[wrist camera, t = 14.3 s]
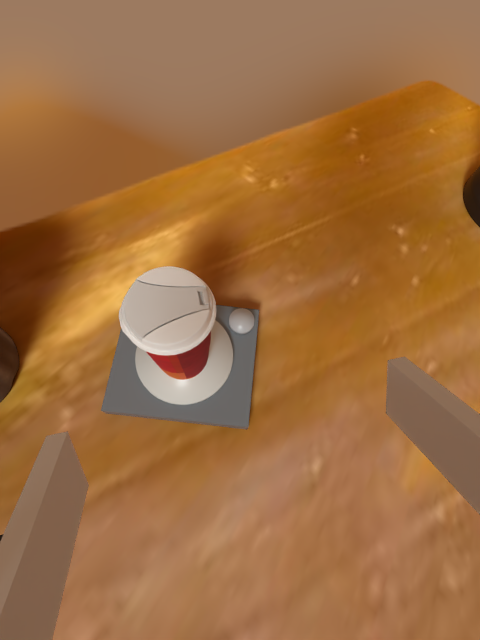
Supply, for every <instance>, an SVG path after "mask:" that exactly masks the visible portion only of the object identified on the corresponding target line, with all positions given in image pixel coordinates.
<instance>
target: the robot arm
mask: <svg viewBox="0 0 480 640" xmlns="http://www.w3.org/2000/svg"><path fill="white" fill-rule="evenodd" d="M464 202H465V205H466V208H467V210H468V212H469V214H470V215H471V217H472V218H473V220H474V221H475V222H476V223H477V224H478V225H479V226H480V167H478V168H477V170H476V171H475V172H474V173H473V174H472V176H471V177H470V178H469V179H468V181H467V182H466V184H465V187H464ZM386 414H387V415H388V416H389V417H390V418H391V419H392V420H393V421H394V422H395V423H396V425H397V426H398V427H399V428H400V429H401V430H402V431H403V432H404V433H405V434H406V435H407V436H408V438H409V439H410V440H411V441H412V442H413V443H414V444H415V445H416V446H417V447H418V448H419V449H420V451H421V452H422V453H423V454H424V455H425V456H426V457H427V458H428V459H429V460H430V461H431V462H432V464H433V465H434V466H435V467H436V468H437V469H438V470H439V471H440V472H441V473H442V474H443V475H444V477H445V478H446V479H447V480H448V481H449V482H450V483H451V484H452V485H453V486H454V487H455V488H456V490H457V491H458V492H459V493H460V494H461V495H462V496H463V497H464V498H465V499H466V500H467V501H468V503H469V504H470V505H471V506H472V507H473V508H474V509H475V510H476V511H477V512H478V513H479V514H480V414H479V413H477V412H476V411H475V410H473V409H472V408H471V407H469V406H468V405H467V404H466V403H464V402H463V401H462V400H460V399H459V398H458V397H456V396H455V395H454V394H453V393H451V392H450V391H449V390H447V389H446V388H445V387H443V386H442V385H441V384H439V383H438V382H437V381H436V380H434V379H433V378H432V377H430V376H429V375H428V374H426V373H425V372H424V371H423V370H421V369H420V368H419V367H417V366H416V365H415V364H413V363H412V362H411V361H409V360H408V359H407V358H406V357H401V358H396V359H392V360H388V370H387V398H386ZM88 486H89V485H88V482H87V480H86V477H85V474H84V472H83V469H82V467H81V464H80V462H79V459H78V457H77V454H76V452H75V449H74V447H73V444H72V441H71V439H70V436H69V434H68V431H67V432H63V433H58V434H54V435H49V436H46V438H45V441H44V443H43V445H42V447H41V450H40V452H39V454H38V457H37V459H36V461H35V463H34V466H33V468H32V470H31V473H30V475H29V477H28V479H27V482H26V484H25V486H24V489H23V491H22V493H21V495H20V498H19V500H18V502H17V505H16V507H15V509H14V511H13V514H12V516H11V518H10V521H9V523H8V525H7V527H6V530H5V532H4V534H3V535H0V640H52V638H53V634H54V630H55V626H56V621H57V617H58V613H59V609H60V604H61V600H62V596H63V592H64V587H65V583H66V579H67V575H68V570H69V566H70V562H71V558H72V553H73V549H74V545H75V541H76V536H77V532H78V528H79V524H80V519H81V515H82V511H83V507H84V502H85V498H86V494H87V490H88Z"/></svg>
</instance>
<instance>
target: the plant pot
mask: <svg viewBox="0 0 480 640" xmlns="http://www.w3.org/2000/svg"><path fill="white" fill-rule="evenodd" d="M18 368H19V356H18V351H17V348H16V346H15V344H14V341H13V340H12V339H11V337H10V336H9V335H8V334H7V333H6V332H5V331H4V330H3V329H2V328H0V402H1V401H2V400H3V399H4V397H5V396H6V395H7V394H8V392H9V391H10V389H11V387H12V382H13V379H14V377H15V374H16V372H17V371H18Z"/></svg>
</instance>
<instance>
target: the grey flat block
mask: <svg viewBox="0 0 480 640" xmlns="http://www.w3.org/2000/svg"><path fill="white" fill-rule="evenodd" d="M258 318H259V310H256V309H247V308H238V307H230V306H221V305H216V318H215V322H214V325H213V327H212V329H211V341H210V347H209V355H208V360H207V363H206V366H205V367H204V369H203V370H202V371H201V372H200V373H199V374H198V375H196V376H195V377H193V378H190V379H185V380H179V379H175V378H172V377H170V376H168V375H167V374H166V373H165V372H164V371H163V370H162V369H161V368H160V367H159V366H158V365H157V364H156V363H155V362H154V360H153V359H152V358H151V357H150V356H149V355H148V354H147V352H146V351H144V350H142V349H141V348H139V347H138V346H136V345H135V344H134V343H133V342H132V341H131V340H130V339H129V337H128V336H127V335H126V334H125V333H124V332H123V331H122V328H121V332H120V336H119V340H118V344H117V348H116V352H115V356H114V360H113V364H112V368H111V372H110V376H109V380H108V384H107V388H106V393H105V397H104V401H103V405H102V409H101V411H103V412H105V413H108V414H117V415H126V416H135V417H143V418H152V419H161V420H170V421H178V422H187V423H196V424H205V425H213V426H222V427H231V428H240V429H248V425H249V415H250V404H251V393H252V382H253V371H254V361H255V350H256V339H257V328H258Z"/></svg>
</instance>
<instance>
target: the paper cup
mask: <svg viewBox="0 0 480 640" xmlns="http://www.w3.org/2000/svg"><path fill="white" fill-rule="evenodd" d="M215 318H216V302H215V298H214V295H213V293H212V291H211V289H210V288H209V287H208V285H207V284H206V283H205V282H204V281H203V280H202V279H200V278H199V277H198V276H196V275H195V274H193V273H192V272H190V271H188V270H185V269H182V268H178V267H160V268H155V269H152V270H150V271H148V272H146V273H144V274H142V275H141V276H140V277H138V278H137V279H136V280H135V282H134V283H133V285H132V286H131V288H130V289H129V291H128V292H127V294H126V296H125V298H124V300H123V302H122V306H121V308H120V310H119V320H120V325H121V328H122V331H123V332H124V333H125V334H126V335H127V336H128V337H129V339H130V340H131V341H132V342H133V343H134V344H135V345H136V346H138V347H139V348H141V349H142V350H144V351H146V352H147V354H148V355H149V356H150V357H151V358H152V359H153V360H154V362H155V363H156V364H157V365H158V366H159V367H160V368H161V369H162V370H163V371H164V372H165V373H166V374H167V375H168V376H170V377H172V378H175V379H179V380H185V379H190V378H193V377H195V376H196V375H198V374H199V373H200V372H201V371H202V370H203V369H204V367H205V366H206V363H207V360H208V355H209V347H210V341H211V329H212V327H213V325H214V322H215Z"/></svg>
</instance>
